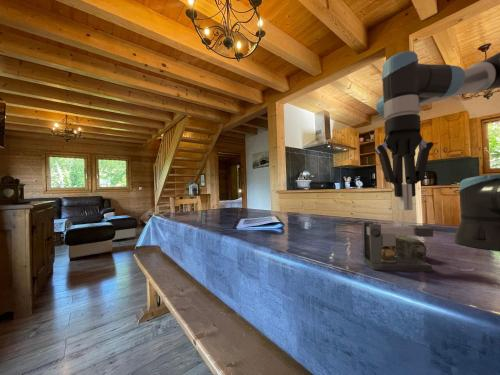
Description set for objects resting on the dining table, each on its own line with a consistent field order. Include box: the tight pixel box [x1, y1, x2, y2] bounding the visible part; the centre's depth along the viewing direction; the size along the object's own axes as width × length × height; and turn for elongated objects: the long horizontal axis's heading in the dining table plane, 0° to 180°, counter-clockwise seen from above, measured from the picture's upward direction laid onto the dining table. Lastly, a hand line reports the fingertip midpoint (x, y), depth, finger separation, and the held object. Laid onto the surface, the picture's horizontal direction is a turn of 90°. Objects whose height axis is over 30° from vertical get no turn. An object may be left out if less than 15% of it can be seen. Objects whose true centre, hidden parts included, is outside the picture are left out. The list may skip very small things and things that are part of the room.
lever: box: [366, 224, 434, 246], centre depth 56 cm, size 14×5×4 cm, turn 81°
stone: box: [389, 236, 427, 259], centre depth 66 cm, size 14×7×10 cm, turn 29°
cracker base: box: [362, 221, 433, 273], centre depth 56 cm, size 13×6×11 cm, turn 81°
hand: (405, 209), depth 56 cm, fingers closed
